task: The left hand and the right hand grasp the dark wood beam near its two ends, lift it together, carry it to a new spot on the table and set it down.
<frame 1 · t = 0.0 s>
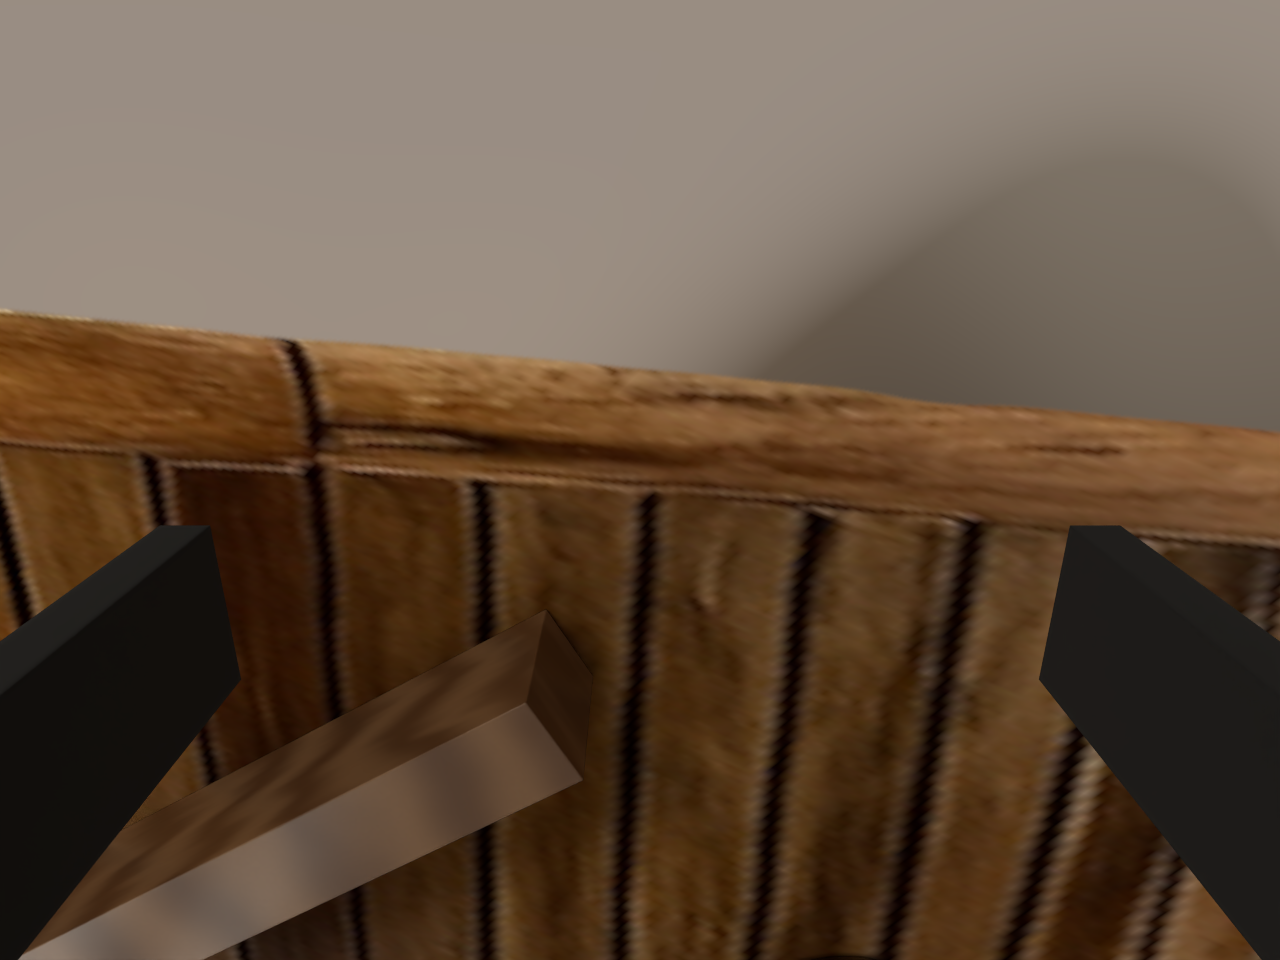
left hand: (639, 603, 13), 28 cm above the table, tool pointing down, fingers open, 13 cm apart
beam: (210, 825, 50), on the table
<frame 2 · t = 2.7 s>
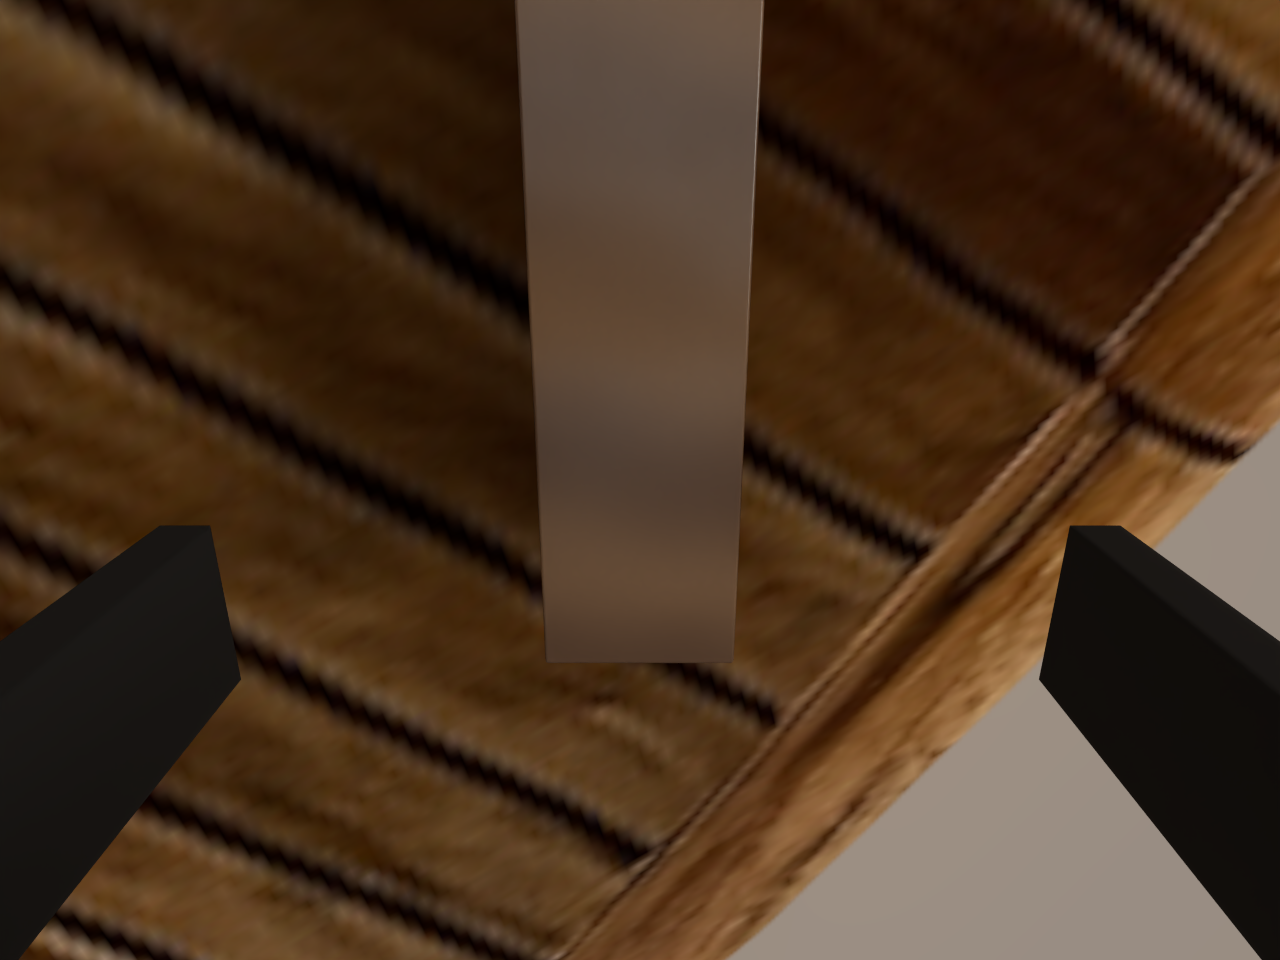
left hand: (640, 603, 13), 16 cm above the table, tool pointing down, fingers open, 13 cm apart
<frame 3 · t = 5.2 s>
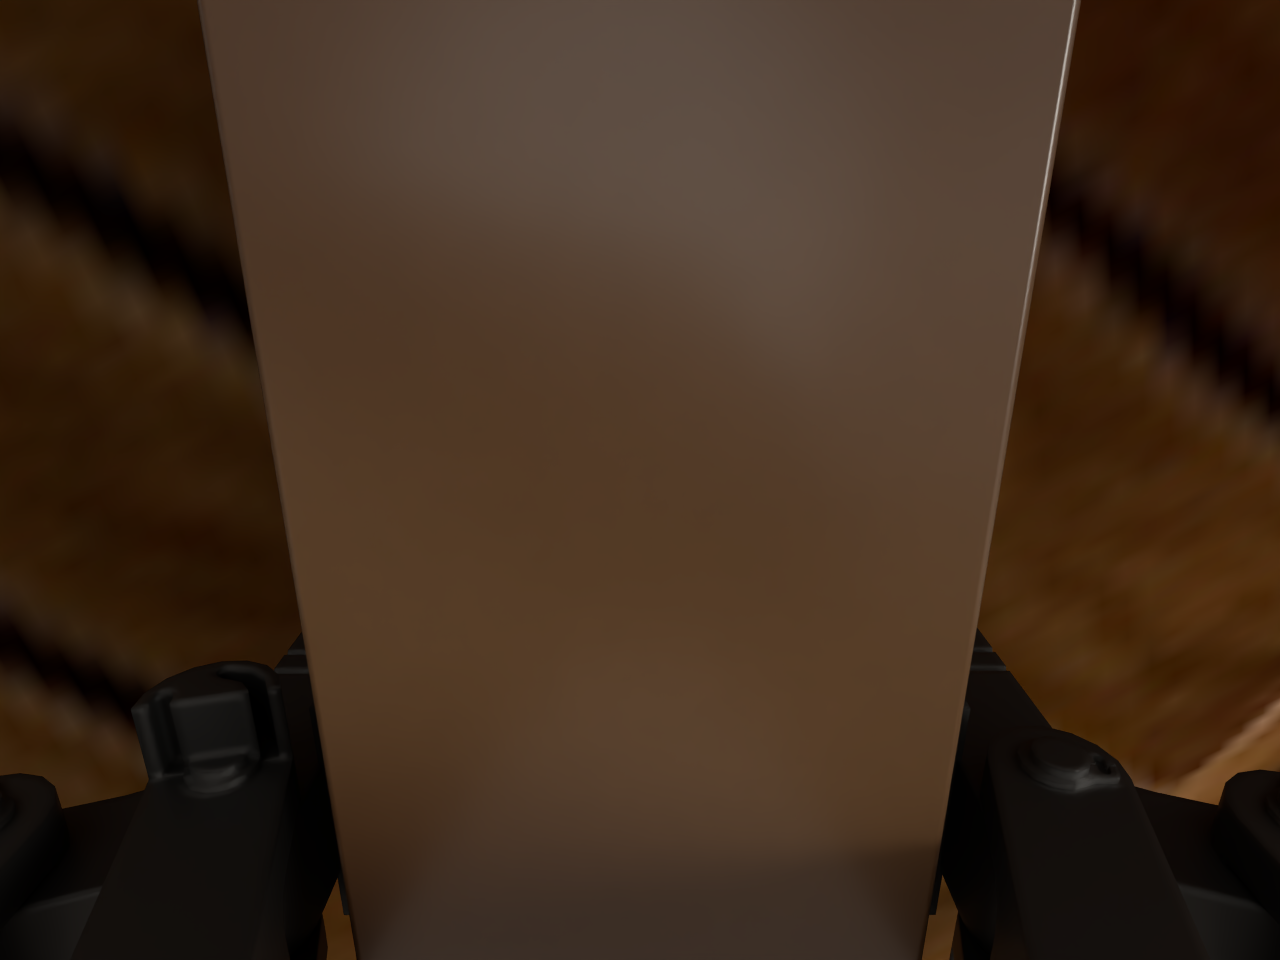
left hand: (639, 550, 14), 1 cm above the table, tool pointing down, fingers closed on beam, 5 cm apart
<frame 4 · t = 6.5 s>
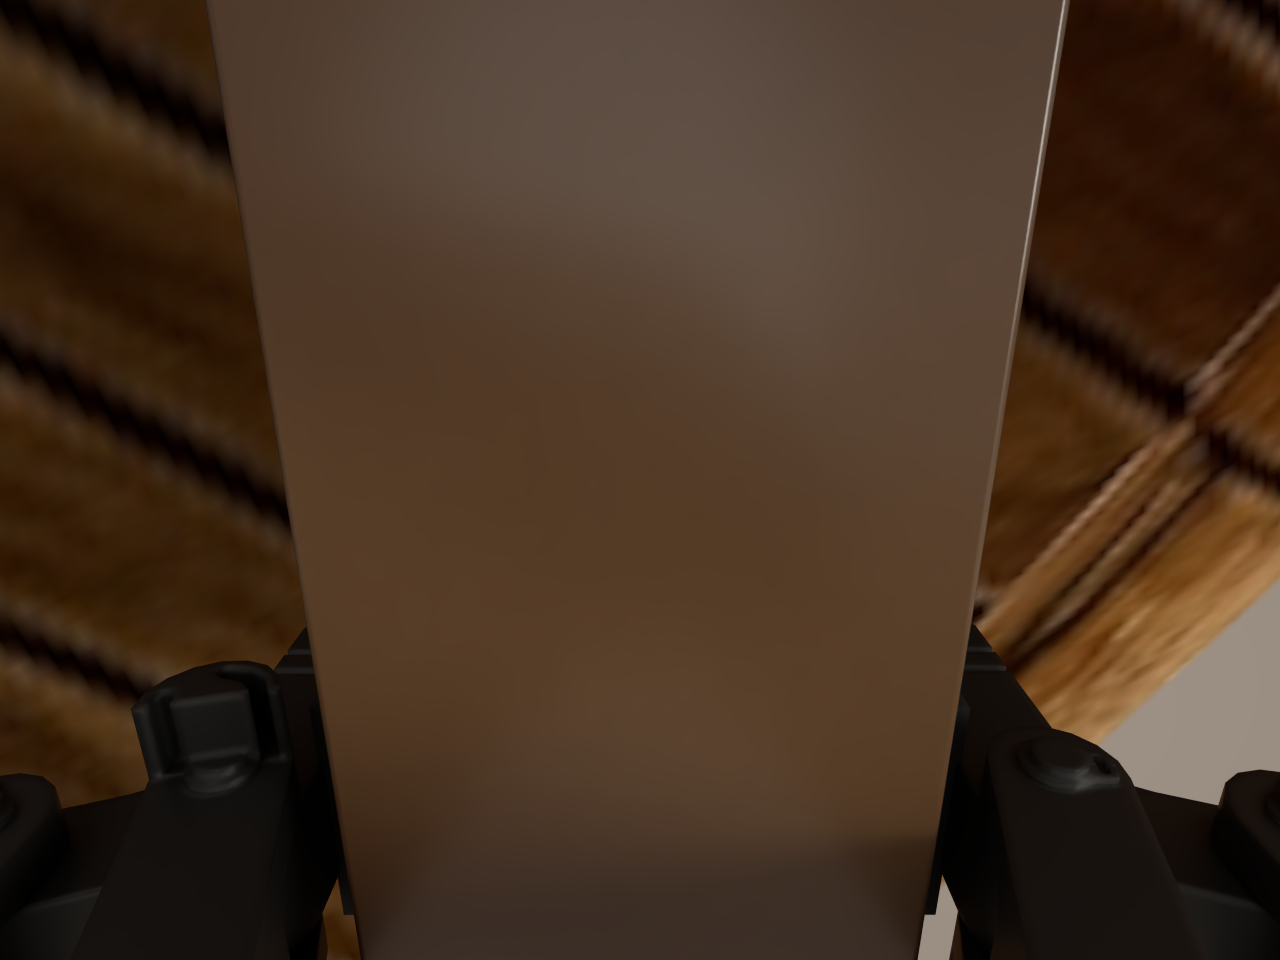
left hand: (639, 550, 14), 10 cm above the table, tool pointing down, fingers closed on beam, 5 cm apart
when the left hand's fingers open (2 cm above the table, at t = 10.4 s): beam stays where it is, on the table.
when the right hand's fingers open (5 cm above the table, at t = 10.6 s): beam stays where it is, on the table.
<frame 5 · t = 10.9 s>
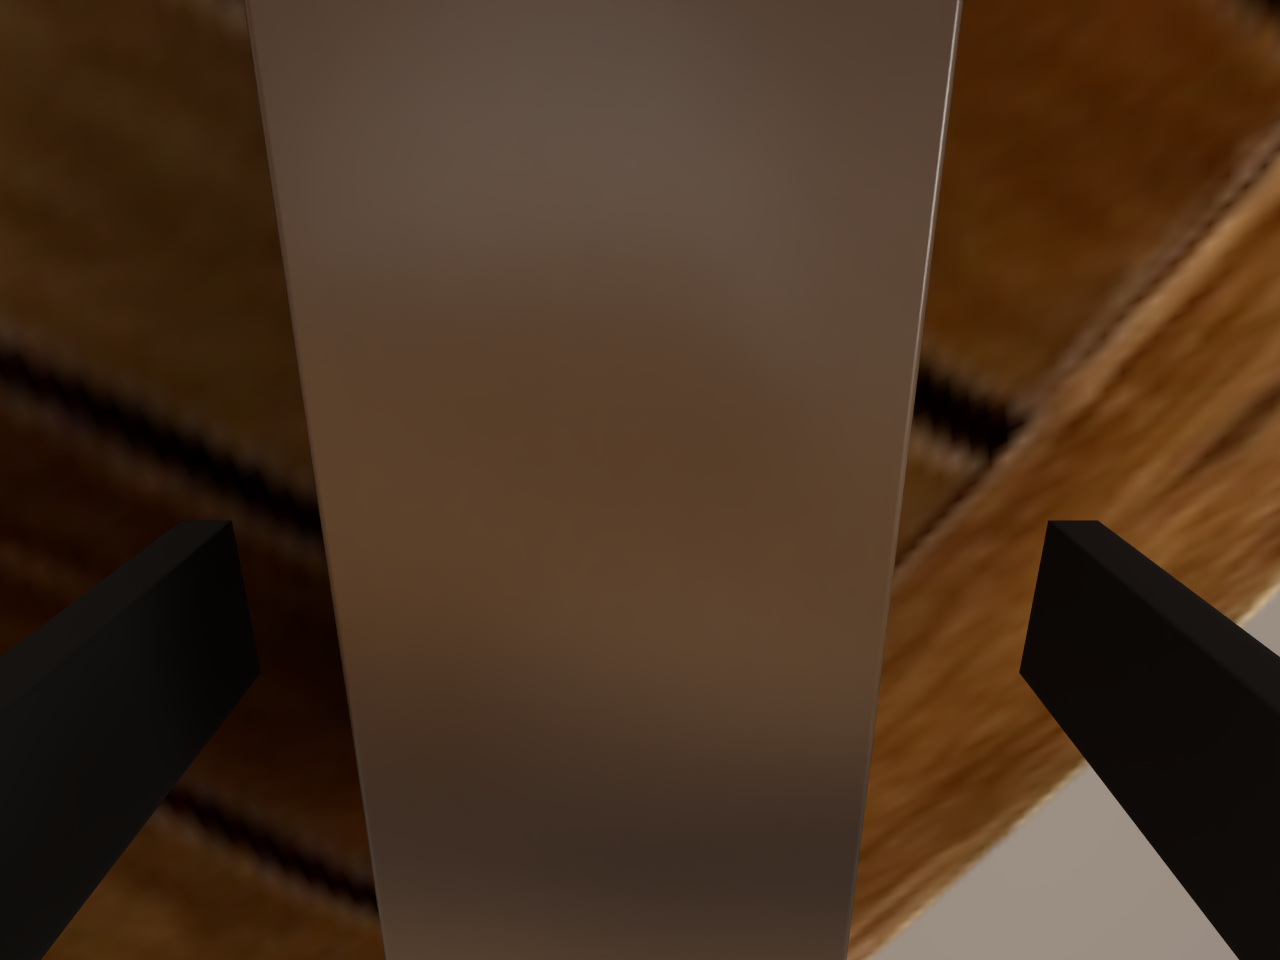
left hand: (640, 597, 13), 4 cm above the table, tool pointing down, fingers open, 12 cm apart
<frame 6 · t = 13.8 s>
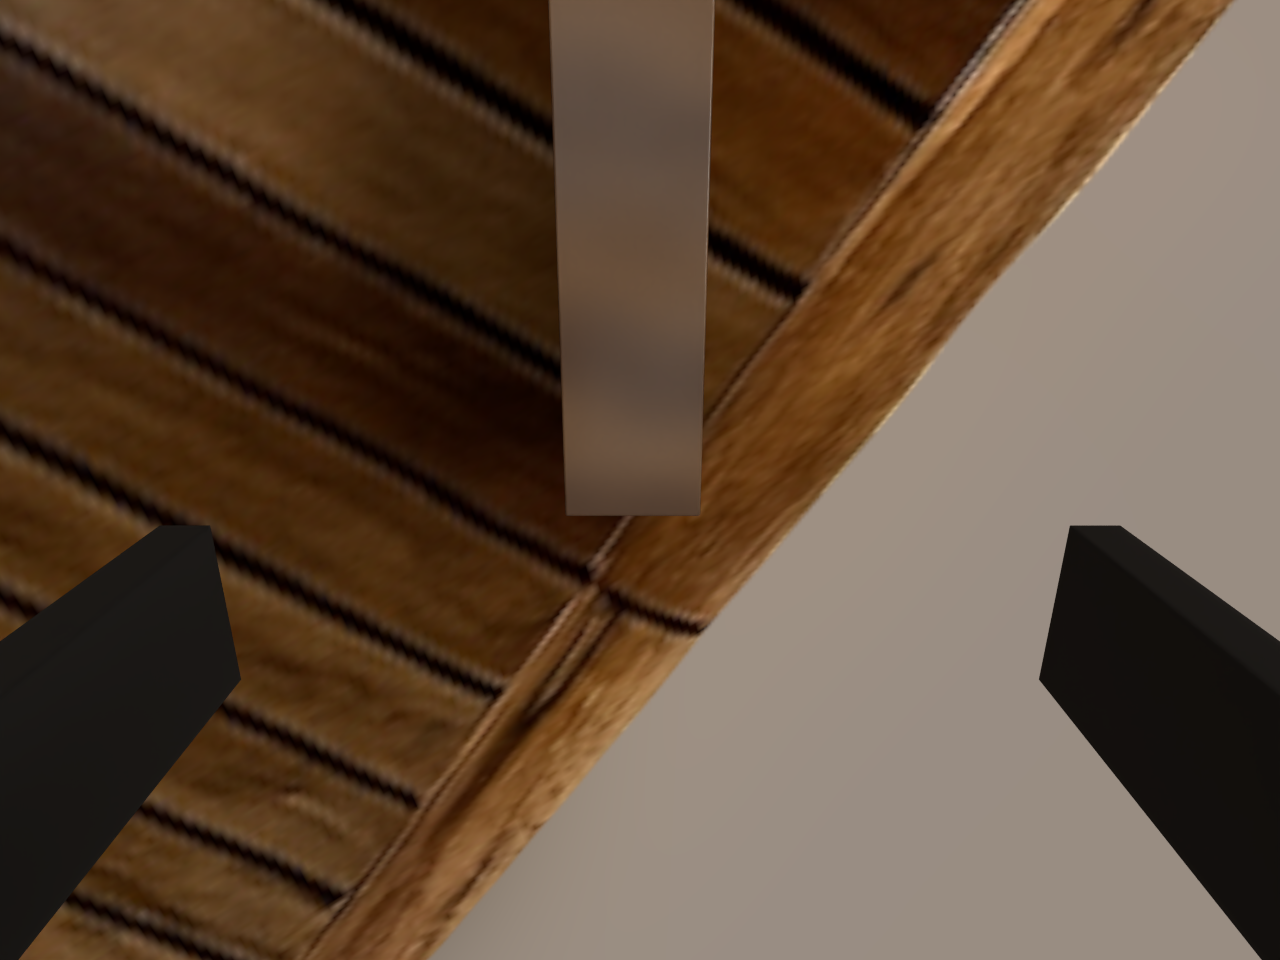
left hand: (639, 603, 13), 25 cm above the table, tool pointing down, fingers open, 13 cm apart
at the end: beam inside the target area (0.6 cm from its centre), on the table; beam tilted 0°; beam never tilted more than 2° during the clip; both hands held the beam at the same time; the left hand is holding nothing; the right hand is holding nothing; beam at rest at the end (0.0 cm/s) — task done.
